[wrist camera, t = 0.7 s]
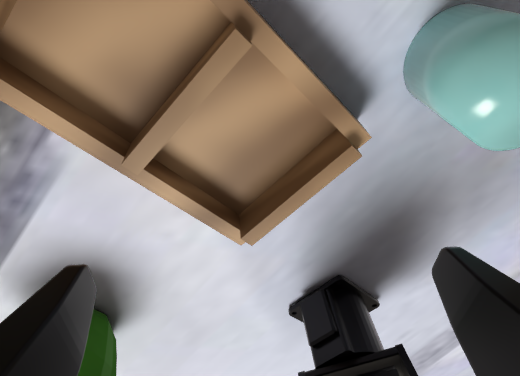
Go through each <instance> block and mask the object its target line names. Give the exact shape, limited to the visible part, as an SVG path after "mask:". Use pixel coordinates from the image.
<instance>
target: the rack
mask: <svg viewBox="0 0 520 376" xmlns="http://www.w3.org/2000/svg"><path fill="white" fill-rule="evenodd" d="M0 100H1V101H3V102H4V103H6V104H8V105H9V106H11V107H13V108H14V109H16V110H18V111H19V112H21V113H23V114H24V115H26V116H28V117H29V118H31V119H33V120H34V121H36V122H37V123H39V124H41V125H42V126H44V127H46V128H47V129H49V130H51V131H52V132H54V133H56V134H57V135H59V136H61V137H62V138H64V139H66V140H67V141H69V142H71V143H72V144H74V145H76V146H77V147H79V148H81V149H82V150H84V151H85V152H87V153H89V154H90V155H92V156H94V157H95V158H97V159H99V160H100V161H102V162H104V163H105V164H107V165H109V166H110V167H112V168H114V169H115V170H117V171H119V172H120V173H122V174H124V175H125V176H127V177H128V178H130V179H132V180H133V181H135V182H137V183H138V184H140V185H142V186H143V187H145V188H147V189H148V190H150V191H152V192H153V193H155V194H157V195H158V196H160V197H162V198H163V199H165V200H167V201H168V202H170V203H172V204H173V205H175V206H176V207H178V208H180V209H181V210H183V211H185V212H186V213H188V214H190V215H191V216H193V217H195V218H196V219H198V220H200V221H201V222H203V223H205V224H206V225H208V226H210V227H211V228H213V229H215V230H216V231H218V232H219V233H221V234H223V235H224V236H226V237H228V238H229V239H231V240H233V241H234V242H236V243H238V244H239V245H242V244H244V243H245V242H247V243H248V244H250V245H251V246H252V245H254V244H255V243H256V242H257V241H258V240H260V239H261V238H262V237H263V236H265V235H266V234H267V233H268V232H270V231H271V230H272V229H273V228H274V227H276V226H277V225H278V224H279V223H281V222H282V221H283V220H284V219H286V218H287V217H288V216H289V215H290V214H292V213H293V212H294V211H295V210H297V209H298V208H299V207H300V206H302V205H303V204H304V203H305V202H306V201H308V200H309V199H310V198H311V197H313V196H314V195H315V194H316V193H318V192H319V191H320V190H321V189H322V188H324V187H325V186H326V185H327V184H329V183H330V182H331V181H332V180H334V179H335V178H336V177H337V176H338V175H340V174H341V173H342V172H343V171H345V170H346V169H347V168H348V167H350V166H351V165H352V164H353V163H354V162H356V161H357V160H358V159H359V158H361V157H362V155H361V153H360V152H359V151H358V148H360V147H361V146H362V145H363V144H364V143H366V142H367V141H368V140H369V139H370V138H372V137H371V136H370V135H369V134H368V132H367V131H366V130H365V129H364V127H363V126H362V125H361V124H360V122H359V121H358V120H357V119H356V118H355V117H354V116H353V115H352V113H351V112H350V111H349V110H348V109H347V108H346V107H345V106H344V105H343V104H342V103H341V102H340V101H339V99H338V98H337V97H336V96H335V95H334V94H333V93H332V92H331V91H330V90H329V89H328V88H327V86H326V85H325V84H324V83H323V82H322V81H321V80H320V79H319V78H318V77H317V76H316V75H315V74H314V72H313V71H312V70H311V69H310V68H309V67H308V66H307V65H306V64H305V63H304V62H303V61H302V59H301V58H300V57H299V56H298V55H297V54H296V53H295V52H294V51H293V50H292V49H291V48H290V46H289V45H288V44H287V43H286V42H285V41H284V40H283V39H282V38H281V37H280V36H279V35H278V34H277V32H276V31H275V30H274V29H273V28H272V27H271V26H270V25H269V24H268V23H267V22H266V21H265V19H264V18H263V17H262V16H261V15H260V14H259V13H258V12H257V11H256V10H255V9H254V8H253V7H252V5H251V4H250V3H249V2H248V1H247V0H0Z"/></svg>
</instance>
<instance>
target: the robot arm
mask: <svg viewBox="0 0 520 376" xmlns="http://www.w3.org/2000/svg"><path fill="white" fill-rule="evenodd" d="M432 276H433V279H434V282H435V285H436V287H437V290H438V292H439V295H440V297H441V300H442V303H443V305H444V308H445V310H446V313H447V316H448V318H449V321H450V323H451V326H452V328H453V330H454V333H455V335H456V337H457V339H458V341H459V343H460V345H461V347H462V349H463V351H464V353H465V355H466V357H467V359H468V361H469V363H470V365H471V367H472V369H473V371H474V373H475V375H476V376H520V283H518V282H517V281H515V280H513V279H512V278H510V277H508V276H507V275H505V274H503V273H502V272H500V271H498V270H497V269H495V268H494V267H492V266H490V265H489V264H487V263H485V262H484V261H482V260H480V259H479V258H477V257H476V256H474V255H472V254H471V253H469V252H467V251H466V250H464V249H462V248H460V247H445V248H443V249H441V251H440V253H439V255H438V257H437V259H436V261H435V263H434V265H433V268H432ZM96 293H97V289H96V285H95V282H94V279H93V277H92V274H91V272H90V269H89V267H88V266H87V265H85V264H78V265H68V266H67V267H65V268H64V269H63V270H61V271H60V272H59V273H58V274H57V275H56V276H55V277H53V278H52V279H51V280H50V281H49V282H48V283H46V284H45V285H44V286H43V287H42V288H41V289H39V290H38V291H37V292H36V293H35V294H34V295H32V296H31V297H30V298H29V299H28V300H27V301H26V302H24V303H23V304H22V305H21V306H20V307H19V308H17V309H16V310H15V311H14V312H13V313H12V314H10V315H9V316H8V317H7V318H6V319H5V320H4V321H2V322H1V323H0V376H78V373H79V369H80V366H81V363H82V359H83V356H84V351H85V347H86V342H87V338H88V333H89V328H90V323H91V318H92V314H93V309H94V304H95V299H96ZM379 305H380V304H379V302H378V300H377V299H376V298H374V297H373V296H371V295H370V294H368V293H367V292H365V291H364V290H362V289H361V288H359V287H358V286H356V285H355V284H354V283H352V282H351V281H349V280H348V279H346V278H345V277H343V276H337V277H335V278H333V279H332V280H330V281H329V282H327V283H326V284H324V285H323V286H321V287H320V288H318V289H317V290H316V291H314V292H313V293H311V294H310V295H308V296H307V297H305V298H304V299H302V300H301V301H299V302H298V303H296V304H295V305H293V306H292V307H290V308H289V315H290V316H292V317H294V318H296V319H298V320H300V321H302V322H303V323H304V325H305V330H306V334H307V339H308V343H309V346H310V347H311V351H312V356H313V360H314V365H315V369H314V370H310V371H307V372H305V371H302V372H299V373H298V376H418V374H417V372H416V371H415V369H414V367H413V365H412V363H411V361H410V359H409V357H408V355H407V353H406V351H405V349H404V347H403V345H402V344H399V345H395V347H393V348H389V349H386V350H384V348H383V346H382V343H381V341H380V338H379V336H378V334H377V331H376V329H375V326H374V324H373V321H372V319H371V317H370V314H369V312H371V311H372V310H374V309H376V308H377V307H379Z"/></svg>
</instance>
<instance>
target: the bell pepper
mask: <svg viewBox="0 0 520 376" xmlns="http://www.w3.org/2000/svg"><path fill="white" fill-rule="evenodd" d="M116 360H117V353H116V339H115V336H114V334H113V331H112V328H111V325H110V323H109V320H108V318H107V315H105V314H103V313H101V312H99V311H97V310H95V309H93V314H92V318H91V323H90V328H89V333H88V338H87V342H86V347H85V351H84V356H83V359H82V363H81V366H80V369H79V373H78V376H116Z"/></svg>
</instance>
